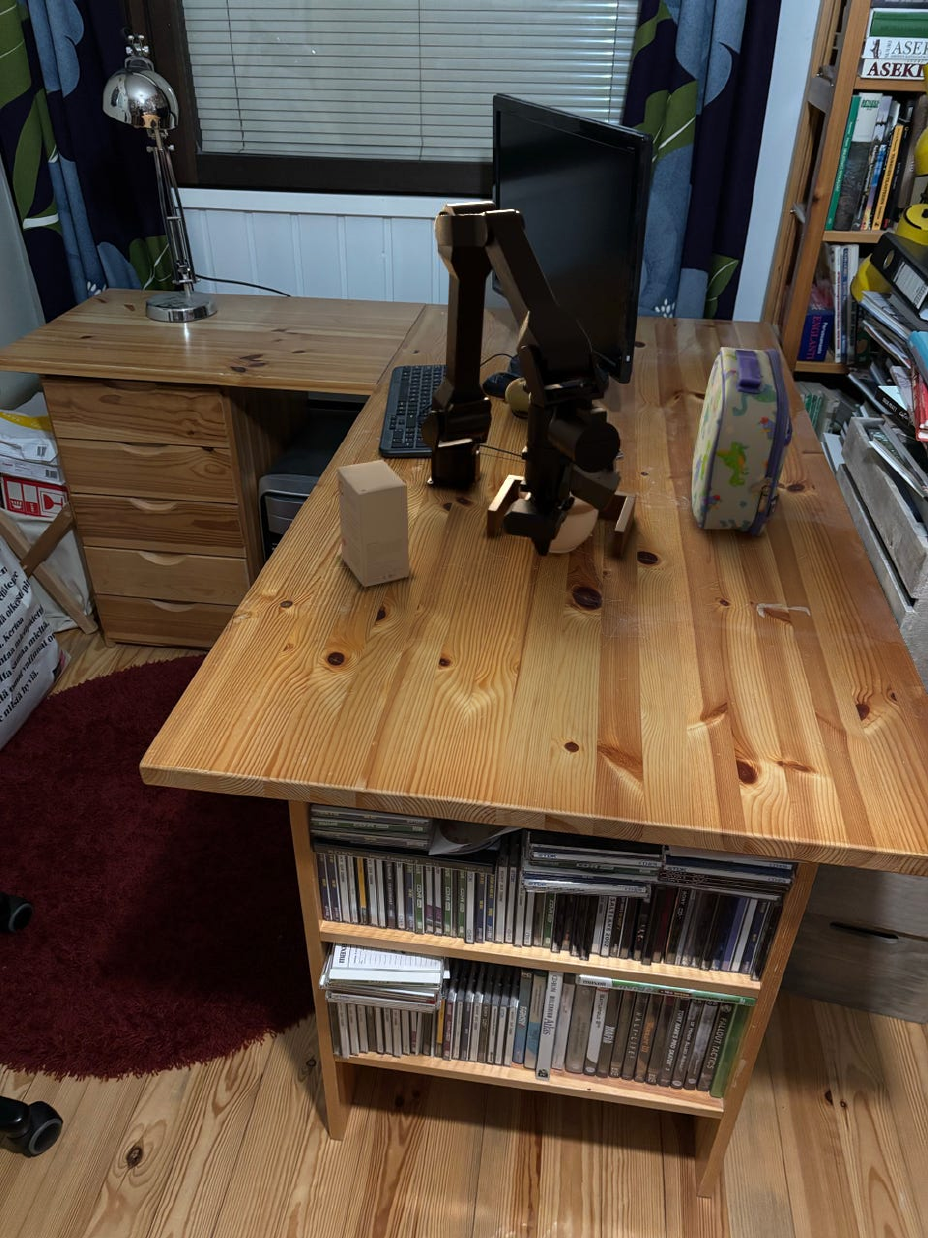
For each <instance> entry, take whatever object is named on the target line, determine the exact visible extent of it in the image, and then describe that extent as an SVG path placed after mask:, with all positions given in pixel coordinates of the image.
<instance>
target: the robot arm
mask: <svg viewBox="0 0 928 1238" xmlns="http://www.w3.org/2000/svg"><path fill="white" fill-rule="evenodd" d="M525 222H526V221H525V219H524V216H523V214H522V213H521V212H520V211H518V210H515V209H503V210H502V209H499V208H498V207H497V205H496V204H495V203H494V202H493V201H479V202H465V203H453V204H450V203H449V204H446V205H444V206H443V208H442V209H441V210H439V212H438V213H437V215H436V217H435V219H434V236H435V237H434V238H435V240H436V242H437V243H436V245H437V246H436V247H437V254H438V255H439V257H440V259H441V261H442V263H443V265H444V267H445V268H446V270H447V271H448V297H447V318H446V319H447V321H446V345H445V347H446V348H445V368H444V369H445V370H444V377H443V379H442V381H441V382H440V384H439V386H438V387H437V388H436V390H435V392H433V395H432V401H431V408H430V412H429V413H428V415H427V416H426V417H425V419H424V420H423V422H422V424H421V425H420V433H421V440H422V442H423V443H424V444H425V445H426V446H427V447H428V448H429V449H430V477H429V479H428V480H427V482H426V484H427V486H429V487H434V488H435V487H437V488H441V489H442V488H443V489H447V490H456V491H461V492H468V491H470V490H471V488H472V487H473V486H474V484H475V483H476V482H477V481H478V480H479V478H480V476H481V451H480V450H478V445H483V444H487V442H488V438H489V434H490V430H491V426H492V422H493V417H492V416H493V415H492V407H493V403H492V400H491V399H490V398H488V396H487V394H486V393H485V391H484V389H483V387H482V385H481V369H482V367H481V366H482V351H483V337H484V323H485V321H484V318H485V305H486V291H487V279H488V278H489V276H490V275H491V273H492V271H493V270H494V273H495V275H496V277H497V280H498V282H499V284H500V287H501V289H502V292H503V294H504V296H505V298H506V301H507V303H508V306H509V309H510V311H511V312H512V315H513V317H514V320H515V323H516V325H517V328H518V332H519V333H518V338H517V342H516V346H515V351H516V354H517V357H518V365H519V369H520V372H521V375H522V376H523V377H522V378H524V379H525V381H526V383H525V384H524V385H523V386H522V389H523V391H524V392H526V393H527V394H528V395H529V406H528V412H527V427H526V443H525V446H524V448H523V449H522V451H521V461H525V463H524V476H523V477H524V479H523V480H522V482H521V484H520V492H527V493H528V494H527V496H526V497H525V499H518V500H517V501H515V502H514V503H513V504H511V506H510V508H509V509H508V511H507V512H506V514H505V516H504V522H503V523H502V526H503V527H502V531H503V532H504V534H506V535H511V536H516V537H522V538H528V539H530V538H531V539H530V541H531V542H532V544H533V546H534V548H535V551H536V553H537V555H538V556H541V557H547V556H548V555H549V553H550V552H549V549H550V546H551V543H552V540H555V539H556V537H557V535H558V533H559V531H560V528H561V524H562V523H563V522H564V521H565V520H566V518H567V516H568V513H569V511H568V510H569V509H571V507H572V505H573V503H574V501H575V498H574V497H576V498H578V499H580V500H582V501H584V502H586V503H588V504H590V505H592V506H593V507H594V508H595V509H597V510H599V511H605V510H606V509H607V507H608V505H609V503H610V501H611V500H612V498H613V496H614V494H615V492H616V491H618V488H619V486H620V484H621V481H622V476H621V471H619V470H617V457H618V454H619V452H620V449H621V444H622V441H621V438H620V434H619V431H618V429H617V428H616V427H615V426H614V425H613V424H612V423H610V422H609V421H608V411H607V410H606V409H604V408H602V407H600V406H597V405H595V404H593V401H598V400H603V399H604V398H605V392H604V388H603V383H604V378H603V375H602V373H601V370H600V367H599V364H598V362H597V359H596V356H595V351H594V348H593V344H592V343H591V340H590V339H589V337H588V335H587V334H586V332H585V330H584V328H583V327H582V325H581V324H580V321H578V319H577V318H576V317H575V316H574V315H572V314H571V313H569V312H568V311H567V310H565V309H563V308H562V307H560V305H559V303H558V302H557V301H556V298H555V296H554V294H553V292H552V289H551V288H550V285H549V283H548V280H547V277H546V276H545V274H544V271H543V270H542V267H541V265H540V262H539V260H538V258H537V256H536V253H535V251H534V249H533V247H532V245H531V242H530V240H529V238H528V236H527V234H526V223H525ZM582 380H583V381H584V383H581V384H574V385H568V386H562V385H560V384H566V383H567V384H568V383H574V382H579V381H582ZM570 492H571V494H572V495H573V496H574V497H572V496H570Z"/></svg>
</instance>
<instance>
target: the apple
mask: <svg viewBox="0 0 928 1238" xmlns="http://www.w3.org/2000/svg"><path fill="white" fill-rule="evenodd" d="M525 383H526V381H525V379H524V377H519V378H517V379H515V380H513V381H511V382H510V383H509V384H508V386H507V388H506V390H505V393H504V394H505V401H506V404H508V406H509V407H510V408H511V410H513V411H515V412H525V413H528V406H529V395H528V394H527V393H526V392H524V391H523V389H522V386H523V385H524V384H525Z"/></svg>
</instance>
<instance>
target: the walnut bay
mask: <svg viewBox="0 0 928 1238" xmlns="http://www.w3.org/2000/svg"><path fill="white" fill-rule="evenodd" d="M524 477H525V476H519V475H514V474H508V476H507V477H506V479H505V480H504V482H503V484H502V486H501V487H500V488H499V490H498V492H497V493H496V495H495V497H494V499H493V500H492V502H491V504H490V505H489V506H488V509H487V513H486V536H487V537H493V538H495V537H496V536H497V534H498V532H499V530H500V529H501V527H502V526H503V522H504V516H505V514H506V512H507V511H508V509H509V508H510V506H511V504H513V503H514V502H515V501H517V500H518V499H519V488H520V484H521V482H522V480H523V479H524ZM636 503H637V493H633V492H632V493H631V492H626V491H620V490H616V492H615V494H614V496H613V498H612V500H611V501H610V503H609V505H608V507H607V509H606V510H605V511H598V516H597V519H598V518H599V519H606V520H610V521H611V520H612V521H617V523H616V526H615V529H614V534H613V541H612V549H611V557H612V558H618V559H621V557H622V556H623V551H624V549H625V546H626V543H627V540H628V536H629V534H630V530H631V528H632V525H633V522H634V517H635V510H636Z"/></svg>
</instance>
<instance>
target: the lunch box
mask: <svg viewBox="0 0 928 1238" xmlns="http://www.w3.org/2000/svg"><path fill="white" fill-rule="evenodd" d="M703 399H704V400H703V405H702V409H701V415H700V420H699V424H698V430H697V436H696V441H695V446H694V453H693V460H692V472H691V508H692V512H693V513H692V514H693V516H694V518H695V521H696V523H697V526H698V528H700V529H703V530H731V531H733V530H737V531H739V532H747V533H748V534H749V535H751V536H754V537H760V536H761V534H762V532H763V530H764V529H765V527H766V525H767V524H771V523H772V522H773V521H774V517H775V514H776V510H777V507H778V503H779V498H780V494H776V493H777V490H778V486H779V483H780V479H781V476H782V472H783V469H784V465H785V461H786V458H787V455H788V450H789V446H790V444H791V442H792V435H793V430H794V429H793V424H792V419H791V413H790V401H789V400H790V399H789V396H788V391H787V388H786V384H785V379H784V373H783V366H782V357H781V353H780V352H779V351H778V350H777V349H775V348H769V349H766V350H764V349H744V348H736V347H735V348H734V347H727V346H722V347H720V348H719V351H718V354H717V355H716V358H715V360H714V363H713V366H712V368H711V372H710V375H709V378H708V383H707V386H706V391H705V394H704V398H703Z"/></svg>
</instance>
